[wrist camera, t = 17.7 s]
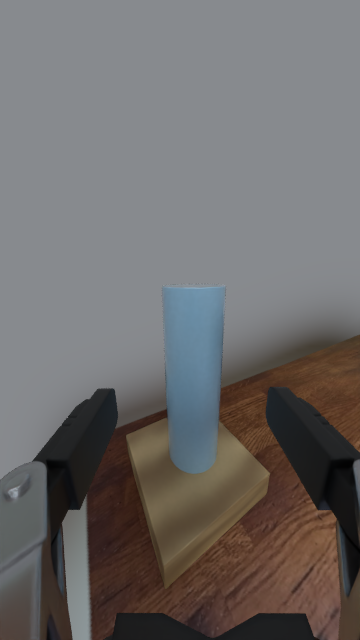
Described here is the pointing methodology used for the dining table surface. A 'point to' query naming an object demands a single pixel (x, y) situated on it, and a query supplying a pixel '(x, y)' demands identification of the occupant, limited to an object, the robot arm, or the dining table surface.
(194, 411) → the light blue cylinder
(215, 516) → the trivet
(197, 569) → the dining table surface
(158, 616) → the robot arm
